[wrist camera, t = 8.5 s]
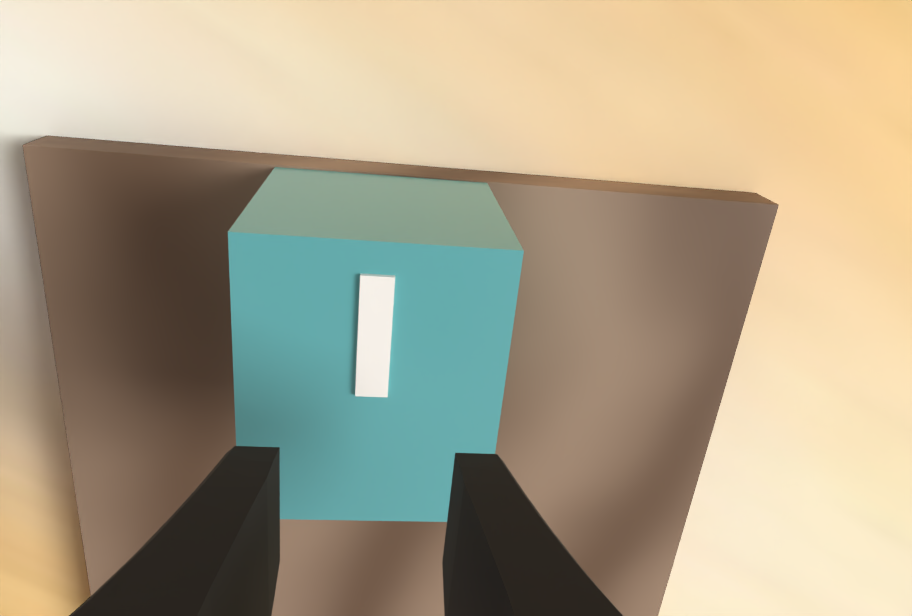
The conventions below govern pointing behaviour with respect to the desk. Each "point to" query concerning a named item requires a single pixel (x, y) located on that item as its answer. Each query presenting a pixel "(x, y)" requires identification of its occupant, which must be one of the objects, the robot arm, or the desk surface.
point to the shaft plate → (526, 386)
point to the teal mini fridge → (370, 336)
